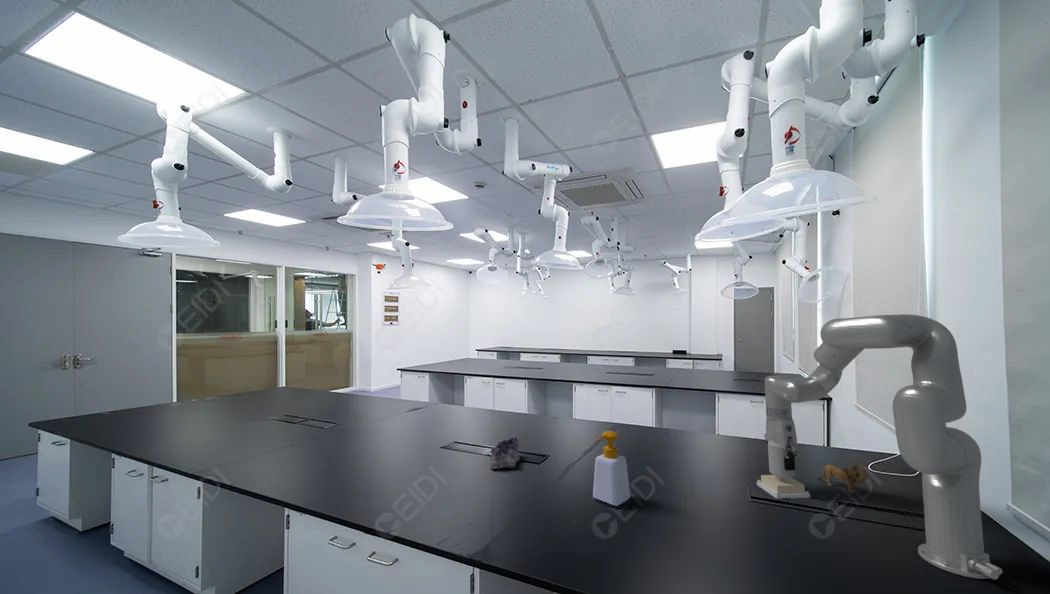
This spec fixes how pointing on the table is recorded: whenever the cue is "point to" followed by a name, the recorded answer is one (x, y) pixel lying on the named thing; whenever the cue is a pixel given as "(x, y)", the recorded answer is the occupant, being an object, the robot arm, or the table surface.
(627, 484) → the soap bottle
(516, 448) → the geode
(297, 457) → the table surface
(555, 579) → the table surface
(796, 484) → the tower base
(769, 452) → the can
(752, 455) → the table surface
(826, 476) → the lion figurine
